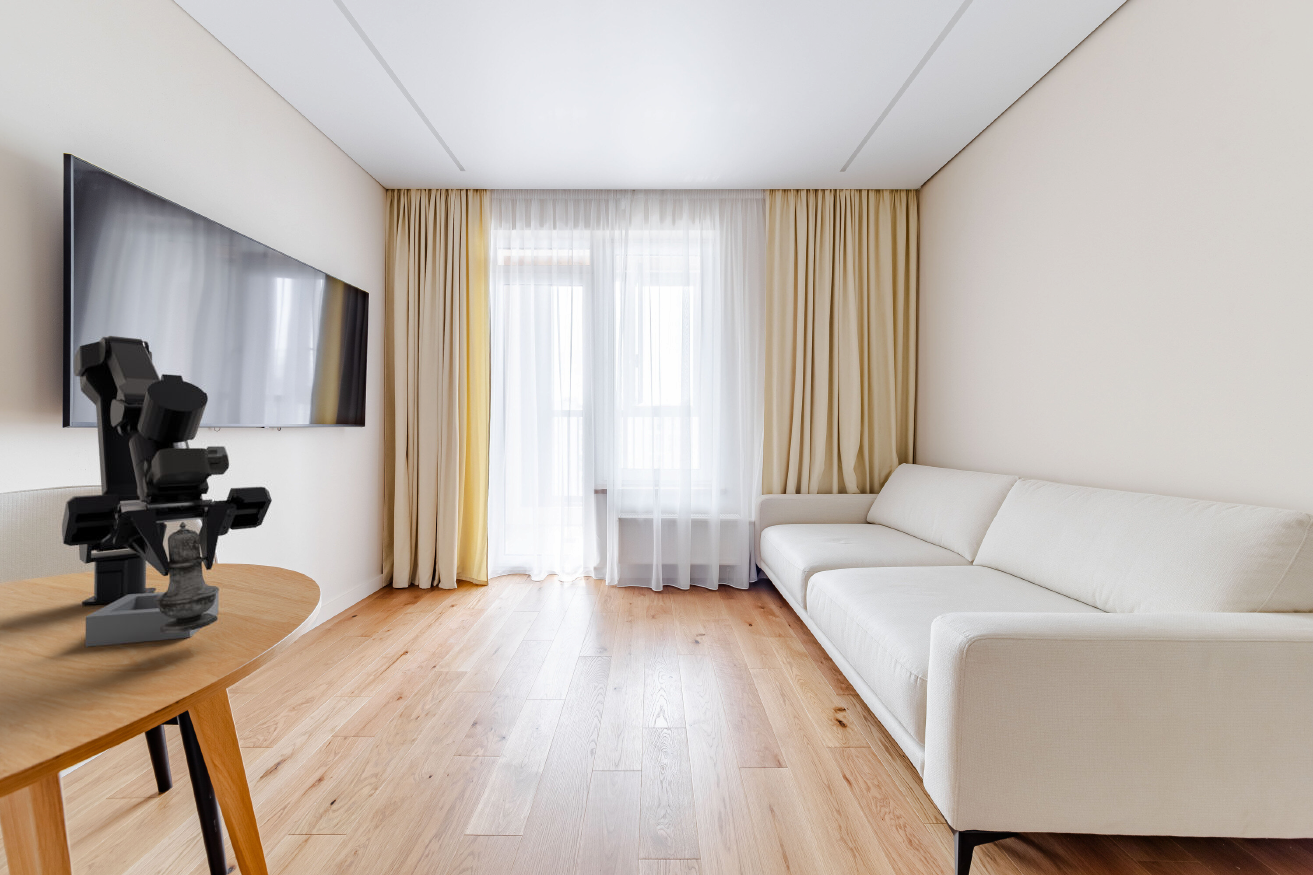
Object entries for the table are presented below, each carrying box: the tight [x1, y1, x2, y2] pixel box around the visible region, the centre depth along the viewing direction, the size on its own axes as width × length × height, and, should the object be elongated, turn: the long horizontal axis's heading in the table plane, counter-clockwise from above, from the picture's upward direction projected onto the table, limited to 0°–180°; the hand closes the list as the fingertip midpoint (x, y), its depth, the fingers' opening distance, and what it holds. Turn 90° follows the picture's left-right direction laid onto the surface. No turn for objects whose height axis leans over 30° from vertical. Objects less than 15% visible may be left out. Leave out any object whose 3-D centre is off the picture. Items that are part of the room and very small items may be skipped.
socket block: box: [85, 590, 220, 648], centre depth 74 cm, size 10×10×4 cm
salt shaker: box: [154, 521, 220, 633], centre depth 67 cm, size 6×6×12 cm
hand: (188, 570), depth 66 cm, fingers closed on salt shaker, 4 cm apart
